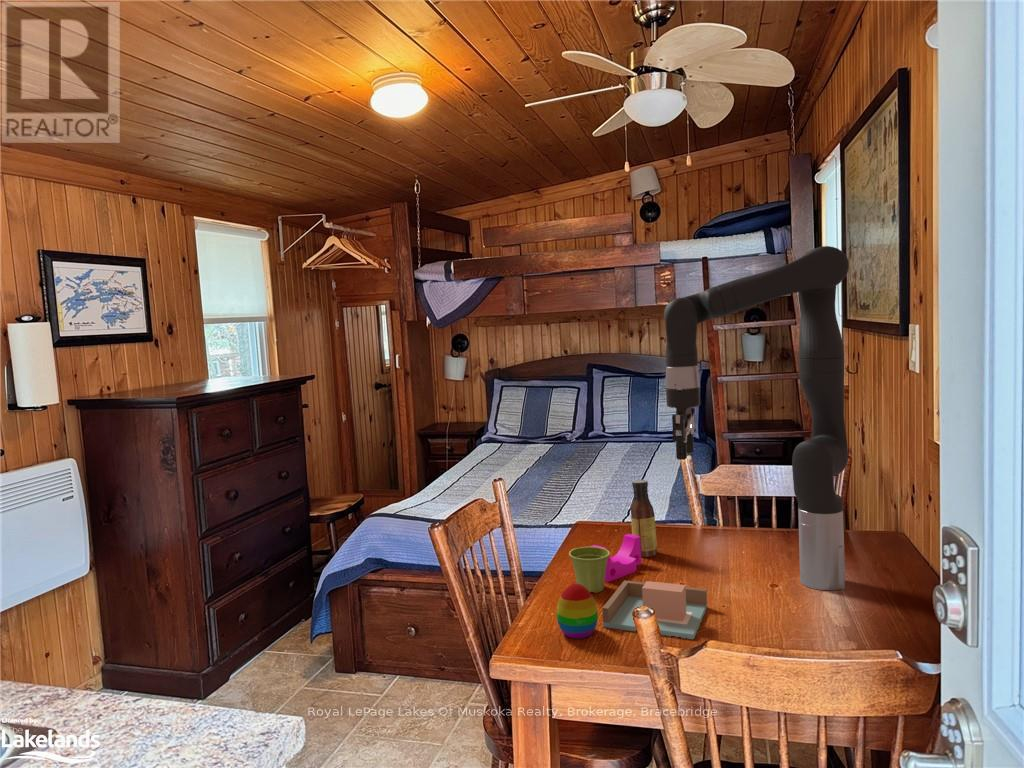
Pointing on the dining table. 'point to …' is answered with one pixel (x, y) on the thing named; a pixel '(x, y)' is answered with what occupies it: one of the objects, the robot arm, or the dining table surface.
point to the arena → (630, 597)
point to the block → (665, 599)
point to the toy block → (624, 558)
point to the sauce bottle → (643, 519)
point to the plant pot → (590, 567)
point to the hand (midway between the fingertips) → (685, 455)
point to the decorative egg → (577, 612)
